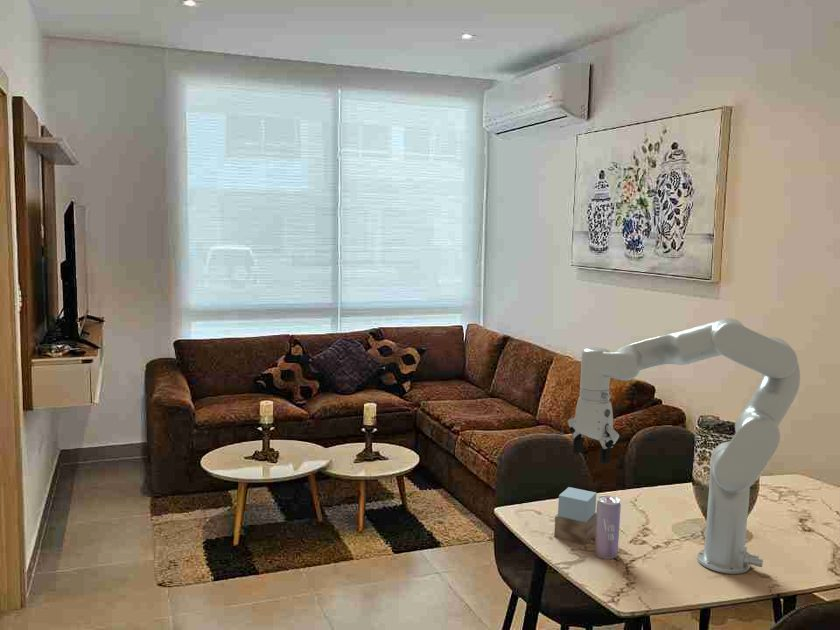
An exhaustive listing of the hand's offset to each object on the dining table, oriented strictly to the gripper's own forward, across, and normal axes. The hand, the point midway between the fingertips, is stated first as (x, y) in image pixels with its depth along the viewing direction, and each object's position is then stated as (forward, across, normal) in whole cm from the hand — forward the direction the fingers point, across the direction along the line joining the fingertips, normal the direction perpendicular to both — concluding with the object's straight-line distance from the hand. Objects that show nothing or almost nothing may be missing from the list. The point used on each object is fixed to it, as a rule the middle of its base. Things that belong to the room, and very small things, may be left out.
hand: (591, 457), depth 205 cm
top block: (+18, +5, -1) cm, 19 cm away
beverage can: (+24, -8, +1) cm, 25 cm away
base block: (+24, +6, -1) cm, 25 cm away
